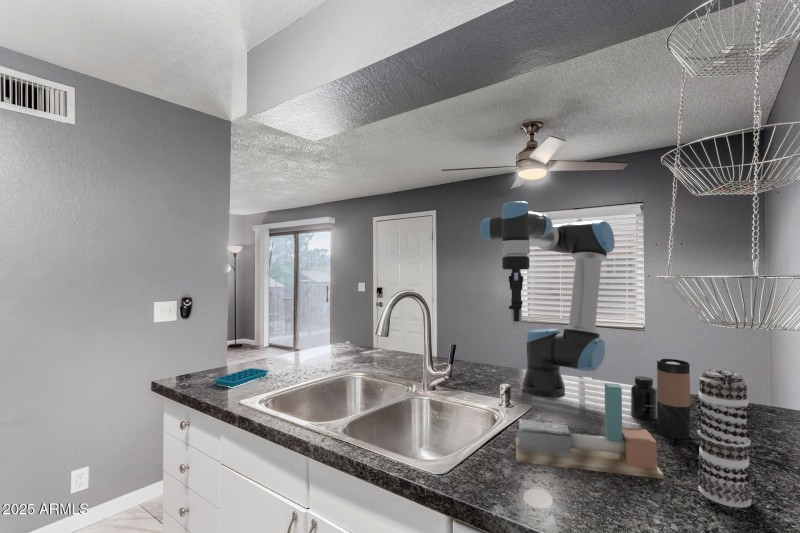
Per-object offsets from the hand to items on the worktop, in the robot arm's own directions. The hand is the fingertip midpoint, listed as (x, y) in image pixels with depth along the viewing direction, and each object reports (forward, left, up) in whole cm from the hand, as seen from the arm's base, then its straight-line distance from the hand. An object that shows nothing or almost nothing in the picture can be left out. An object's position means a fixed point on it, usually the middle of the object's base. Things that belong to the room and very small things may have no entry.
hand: (516, 329), depth 115 cm
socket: (+14, +27, -28) cm, 41 cm away
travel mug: (-8, +42, -29) cm, 52 cm away
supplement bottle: (-20, +38, -29) cm, 52 cm away
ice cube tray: (-23, -110, -29) cm, 116 cm away
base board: (+14, +15, -29) cm, 35 cm away
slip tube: (+14, +19, -27) cm, 36 cm away
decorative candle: (+24, +40, -29) cm, 55 cm away
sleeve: (+14, +6, -28) cm, 32 cm away
